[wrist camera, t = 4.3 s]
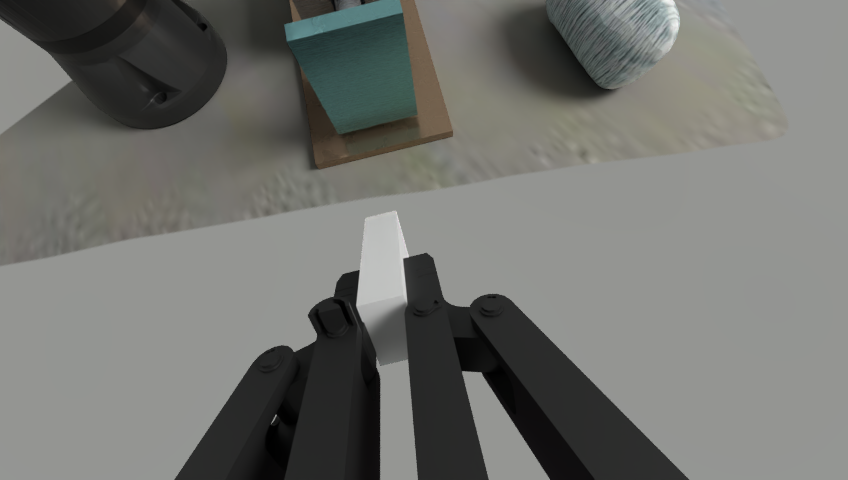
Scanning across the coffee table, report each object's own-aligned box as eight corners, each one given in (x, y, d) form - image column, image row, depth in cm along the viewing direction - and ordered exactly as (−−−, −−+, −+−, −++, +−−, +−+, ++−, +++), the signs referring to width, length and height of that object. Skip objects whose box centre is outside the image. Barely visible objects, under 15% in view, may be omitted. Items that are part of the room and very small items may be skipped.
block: (417, 114, 33) (402, 12, 23) (338, 134, 33) (286, 41, 23) (388, 4, 37) (364, -127, 27) (317, 22, 37) (265, -102, 27)
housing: (452, 136, 35) (453, 70, 26) (319, 169, 35) (275, 114, 26) (398, -50, 42) (384, -149, 33) (288, -22, 42) (246, -114, 33)
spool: (513, -13, 35) (601, -120, 26) (573, -4, 39) (665, -92, 31) (553, 112, 35) (656, 47, 26) (609, 107, 39) (713, 50, 30)
